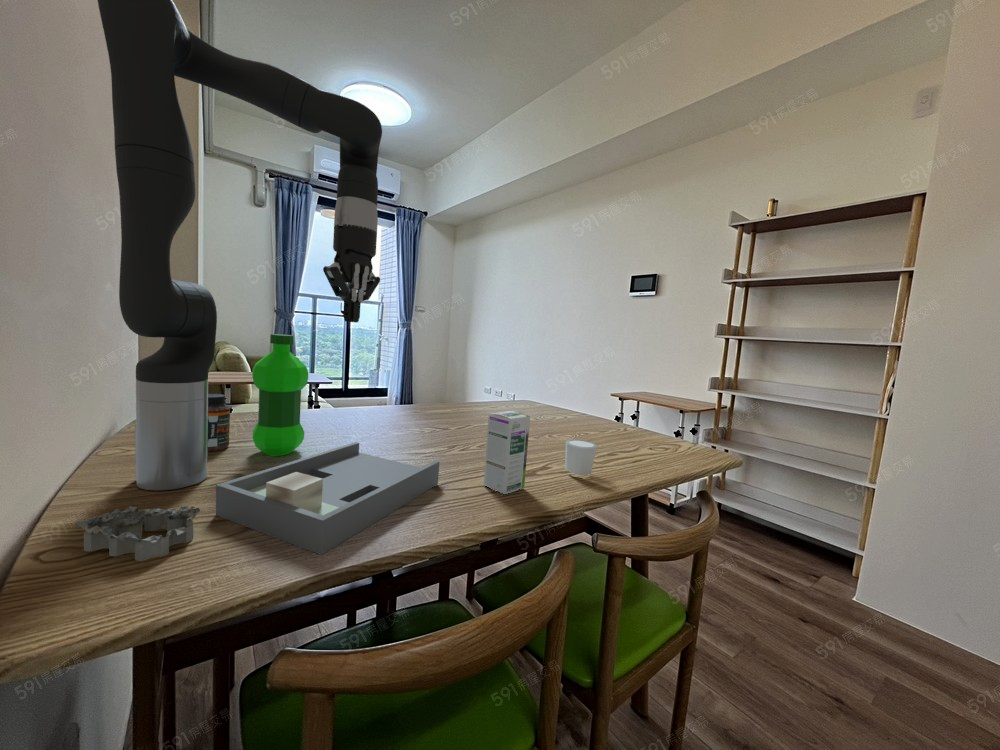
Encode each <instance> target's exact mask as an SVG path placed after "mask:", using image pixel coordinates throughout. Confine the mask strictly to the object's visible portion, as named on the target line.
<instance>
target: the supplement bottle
mask: <svg viewBox="0 0 1000 750" xmlns="http://www.w3.org/2000/svg"><path fill="white" fill-rule="evenodd" d="M230 418H231V408H230V406H229V405H228V404H227V403H226V395H225V394H222V393H208V442H207V452H215V451H216V452H217V451H222V450H224V449H226V448H228V447H229V446H230V429H231V428H230V426H231V425H230V424H231V420H230Z"/></svg>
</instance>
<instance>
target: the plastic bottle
mask: <svg viewBox="0 0 1000 750" xmlns="http://www.w3.org/2000/svg"><path fill="white" fill-rule="evenodd" d="M269 337H270V339H269V340H270V344H272V351H269V353H268V354H266V355H264V356H263V357H262V358H261V359H259V360H258V361H257V362H255V364H254V366H253V368H252V375H251V376H252V380H253V385H254V386H255V387H256V388H257V389H258V415H257V417H258V419H257V420H258V421H257V423H256V425H255V426H254V429H253V431H252V440H253V442H254V445H255V447H256V448H257V450H259V451H260V452H262V453H264V455H265V456H270V457H275V456H276V457H278V456H279V457H280V456H286V455H290V454H291V453H293V451H295V450H296V449H297V448H298V447H300V445H302V444H303V441H304V439H305V430H304V428H303V425H302V424H301V406H302V405H301V401H302V400H301V399H302V390H303V389H304V388H305V387H306V386H307V385H308V381H309V370H308V368H307V366H306V365H305V364H304V363H303V362H302V360H300V359H299V358H298V357H297V356H296V355H295V354H293V353H292V352H291V345H294V335H293V334H283V333H281V334H280V333H270V336H269Z"/></svg>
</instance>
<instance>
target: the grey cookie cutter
mask: <svg viewBox="0 0 1000 750" xmlns="http://www.w3.org/2000/svg"><path fill="white" fill-rule="evenodd" d="M199 513H201V509H200V508H199V507H195V506H188V505H185V506H182V505H181V506H180V507H179V509H176V508H172V507H171V508H168V509H162V508H159V507H158V508H145V509H142V510H139V507H137V506H131V505H129V506H127V508H126V509H125V510H123V511H121V510H120V509H119V508H116V509H114V510H113V511H112V512H106V513H105V512H104V513H103V514H102V515H94V516H93V517H92V518H91V519H87V520H78V521H75V523H76V524H77V525H78V526H79V527H80V528H81V529H83V530H85V532H83V551H84V552H87V551H89V552H88V553H91V552H92V553H93V552H95V551H98V550H103V549H104V550H105V549H108V550H109V551H108V556H110V557H111V556H112V557H119V556H121V555H125V554H126V555H127V554H133V553H134V560H135V561H138V562H139V561H140V562H143V561H146V560H148V559H152V558H161V557H164V556H165V555H168V554H169V553H170V547H171V546H173V545H176V544H177V545H178V544H182V543H189V542H190V541H193V540H194V521H193V520H194V519H195V518H196V516H197V515H198V514H199ZM143 526H144V528H143ZM143 529H144V531H147V532H155V531H159V530H167V532H166V534H165V535H166V536H165V537H163V535H162V534H160V535H151V536H148V537H146V538H144V539H143ZM90 551H91V552H90Z"/></svg>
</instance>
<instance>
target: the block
mask: <svg viewBox="0 0 1000 750" xmlns="http://www.w3.org/2000/svg"><path fill="white" fill-rule="evenodd" d="M322 488H323V479H322V478H318V477H314V476H310V475H307V474H303V473H299V472H294V473H292V474H289V475H286V476H283V477H280V478H278V479H275V480H272V481H269V482H266V497H268V498H271V499H274V500H277V501H281V502H284V503H287V504H290V505H293V506H296V507H299V508H302V509H305V510H308V511H311V510H313V509H315V508H318V507H320V506H322Z"/></svg>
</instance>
